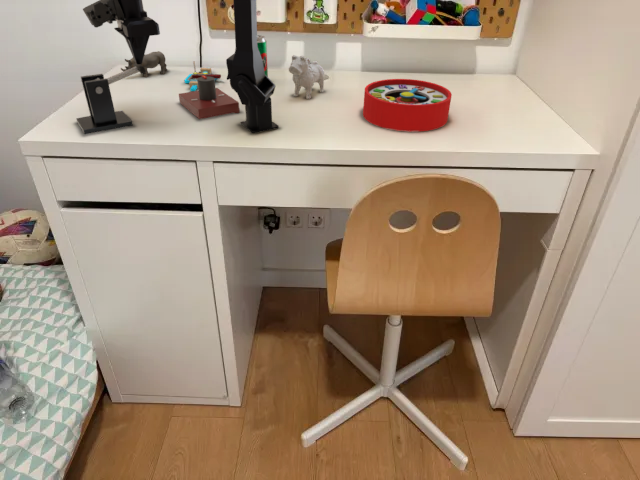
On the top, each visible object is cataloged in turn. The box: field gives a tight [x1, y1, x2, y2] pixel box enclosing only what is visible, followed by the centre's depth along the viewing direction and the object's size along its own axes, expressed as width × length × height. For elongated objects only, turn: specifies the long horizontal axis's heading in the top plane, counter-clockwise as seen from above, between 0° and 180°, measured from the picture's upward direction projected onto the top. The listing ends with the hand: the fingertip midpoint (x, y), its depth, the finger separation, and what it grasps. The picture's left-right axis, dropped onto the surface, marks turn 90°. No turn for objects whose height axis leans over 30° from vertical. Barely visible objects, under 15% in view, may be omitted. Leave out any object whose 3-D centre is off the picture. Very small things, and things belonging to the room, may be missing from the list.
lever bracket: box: [75, 73, 133, 135], centre depth 106 cm, size 10×8×10 cm
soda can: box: [257, 34, 269, 78], centre depth 133 cm, size 5×5×12 cm
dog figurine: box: [288, 54, 325, 100], centre depth 125 cm, size 5×13×11 cm, turn 150°
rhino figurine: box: [120, 50, 168, 78], centre depth 139 cm, size 4×14×6 cm, turn 130°
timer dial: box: [197, 75, 217, 100], centre depth 116 cm, size 4×4×5 cm
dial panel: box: [178, 87, 240, 120], centre depth 118 cm, size 13×10×3 cm
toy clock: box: [362, 78, 453, 133], centre depth 115 cm, size 20×6×20 cm
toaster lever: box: [93, 63, 146, 85], centre depth 105 cm, size 12×5×2 cm, turn 123°
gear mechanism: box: [184, 61, 222, 92], centre depth 135 cm, size 20×5×9 cm
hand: (139, 63), depth 106 cm, fingers closed
